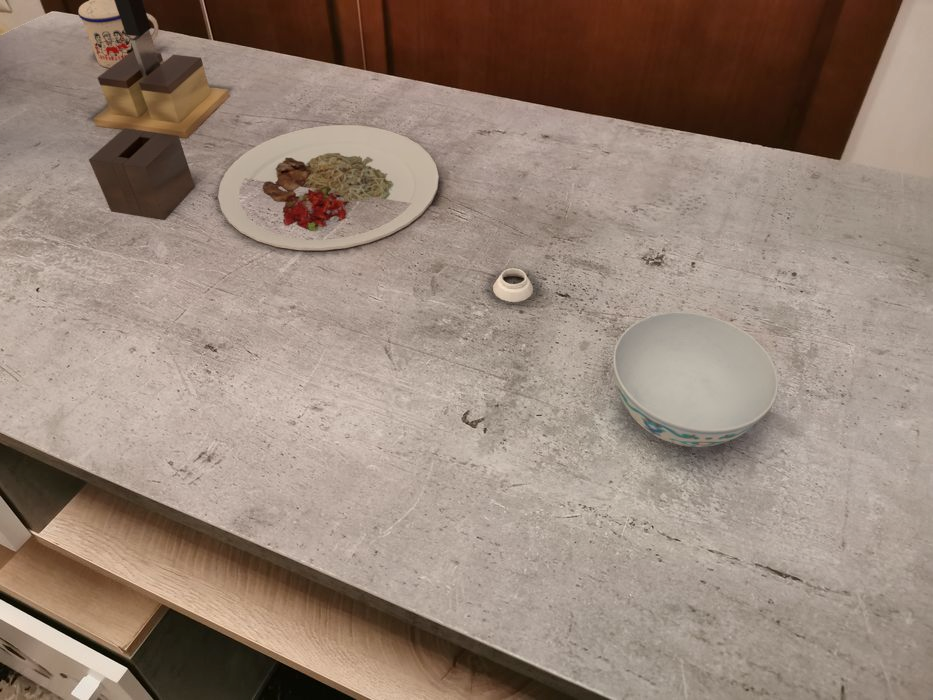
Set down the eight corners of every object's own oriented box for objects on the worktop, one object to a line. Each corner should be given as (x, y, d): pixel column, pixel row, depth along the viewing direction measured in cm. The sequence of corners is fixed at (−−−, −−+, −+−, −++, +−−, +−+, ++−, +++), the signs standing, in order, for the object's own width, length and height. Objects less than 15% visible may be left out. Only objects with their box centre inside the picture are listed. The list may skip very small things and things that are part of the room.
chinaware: (621, 348, 80) (632, 296, 74) (762, 385, 76) (785, 333, 71) (586, 452, 70) (596, 401, 65) (745, 501, 67) (770, 451, 61)
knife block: (113, 218, 97) (88, 159, 91) (146, 185, 103) (124, 127, 96) (167, 227, 96) (145, 168, 89) (197, 193, 101) (178, 135, 95)
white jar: (491, 281, 88) (491, 309, 85) (491, 262, 86) (492, 290, 82) (532, 281, 88) (534, 310, 84) (534, 262, 86) (536, 290, 82)
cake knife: (149, 108, 116) (104, -21, 102) (162, 97, 118) (120, -31, 104) (162, 110, 115) (119, -20, 101) (175, 98, 118) (135, -30, 104)
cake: (95, 125, 114) (77, 82, 109) (144, 85, 124) (129, 43, 119) (186, 138, 112) (172, 94, 106) (229, 96, 121) (218, 53, 116)
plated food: (414, 124, 114) (412, 104, 112) (462, 237, 94) (462, 216, 92) (218, 152, 109) (212, 131, 106) (225, 278, 89) (218, 256, 86)
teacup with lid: (95, 72, 127) (68, 3, 119) (98, 51, 133) (73, -16, 125) (166, 64, 129) (145, -5, 121) (166, 43, 135) (146, -24, 127)
